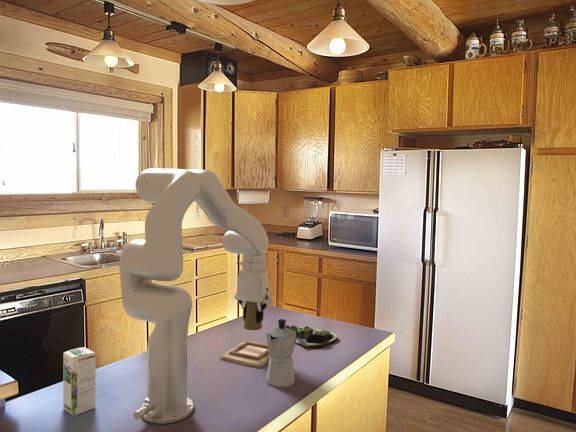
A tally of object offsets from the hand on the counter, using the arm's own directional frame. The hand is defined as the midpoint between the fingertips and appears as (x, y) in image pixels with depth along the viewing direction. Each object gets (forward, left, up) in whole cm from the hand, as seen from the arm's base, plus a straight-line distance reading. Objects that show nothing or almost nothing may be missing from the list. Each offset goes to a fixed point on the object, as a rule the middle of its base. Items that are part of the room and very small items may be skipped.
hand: (253, 320), depth 148 cm
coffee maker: (-12, -17, -12) cm, 23 cm away
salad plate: (+23, -12, -12) cm, 29 cm away
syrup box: (-50, +21, -12) cm, 56 cm away
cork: (0, 0, -2) cm, 2 cm away
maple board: (0, 0, -12) cm, 12 cm away
